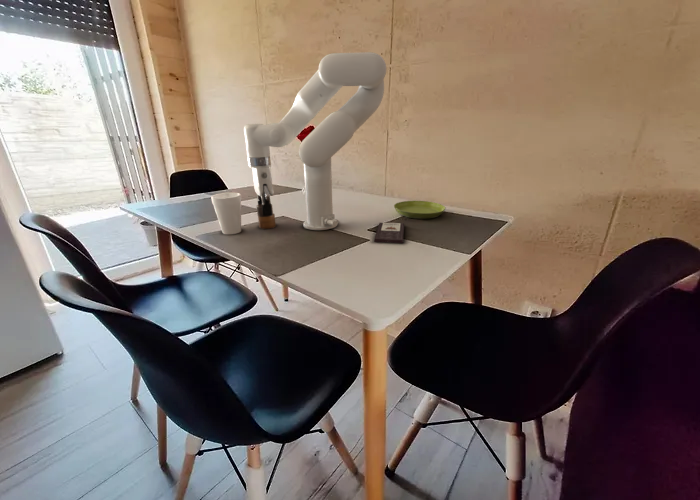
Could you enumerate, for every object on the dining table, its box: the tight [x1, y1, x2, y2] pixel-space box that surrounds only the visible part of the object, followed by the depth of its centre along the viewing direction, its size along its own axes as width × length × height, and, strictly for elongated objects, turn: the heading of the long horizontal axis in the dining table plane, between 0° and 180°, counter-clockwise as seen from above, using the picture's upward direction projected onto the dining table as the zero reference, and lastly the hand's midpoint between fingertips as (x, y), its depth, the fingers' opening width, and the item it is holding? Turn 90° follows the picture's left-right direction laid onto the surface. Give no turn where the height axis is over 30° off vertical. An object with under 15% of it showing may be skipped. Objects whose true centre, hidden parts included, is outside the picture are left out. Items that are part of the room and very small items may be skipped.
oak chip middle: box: [257, 213, 276, 223], centre depth 115 cm, size 6×6×2 cm
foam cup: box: [210, 192, 242, 235], centre depth 109 cm, size 10×9×13 cm
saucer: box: [393, 200, 446, 220], centre depth 128 cm, size 21×21×3 cm
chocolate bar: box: [373, 222, 405, 244], centre depth 106 cm, size 9×1×18 cm
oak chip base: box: [258, 220, 277, 230], centre depth 116 cm, size 6×6×2 cm
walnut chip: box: [255, 203, 274, 217], centre depth 114 cm, size 6×6×4 cm
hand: (265, 212), depth 114 cm, fingers open, 5 cm apart
